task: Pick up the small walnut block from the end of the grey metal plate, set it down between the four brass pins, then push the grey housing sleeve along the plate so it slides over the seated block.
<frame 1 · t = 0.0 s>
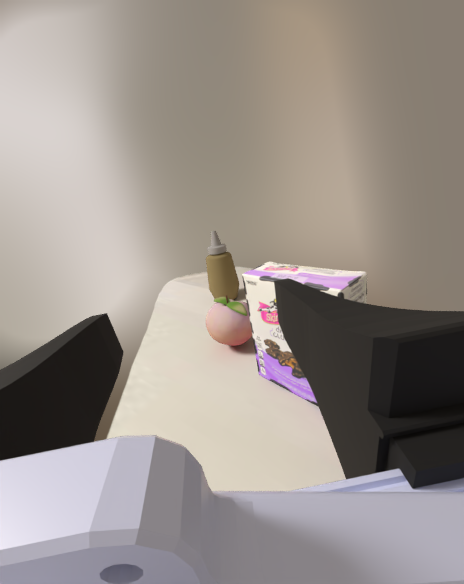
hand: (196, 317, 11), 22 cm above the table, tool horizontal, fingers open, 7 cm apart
squeeze bottle: (226, 299, 71), on the table
decorative fruit: (235, 346, 49), on the table
candy box: (307, 384, 37), on the table
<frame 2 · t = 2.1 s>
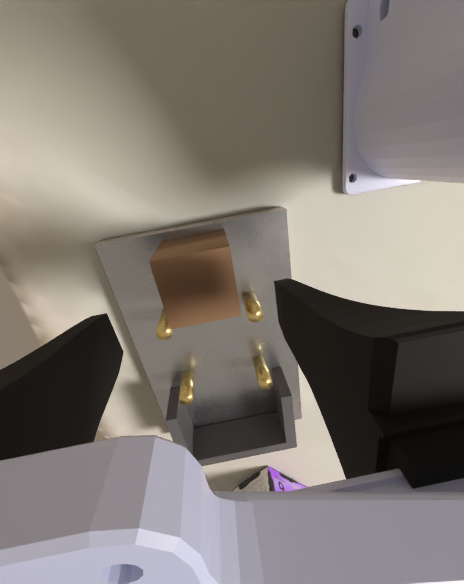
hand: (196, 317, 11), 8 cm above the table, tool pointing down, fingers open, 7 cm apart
housing: (233, 418, 22), point 3 cm above the table, slide at 0.0 cm
candy box: (288, 495, 32), on the table
base plate: (218, 340, 22), on the table
walnut block: (199, 265, 17), point 1 cm above the table, touching base plate
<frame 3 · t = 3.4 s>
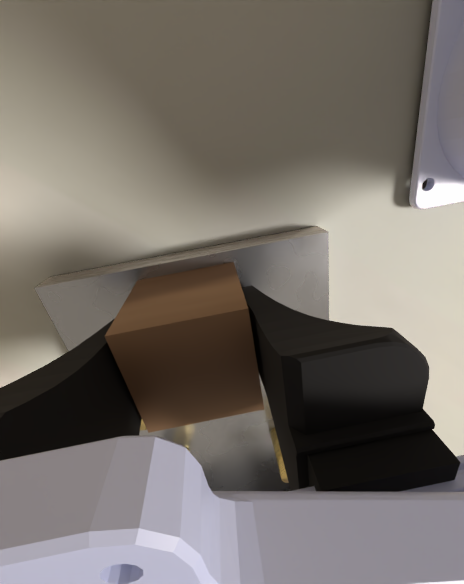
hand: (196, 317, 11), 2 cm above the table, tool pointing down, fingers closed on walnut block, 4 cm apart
base plate: (222, 403, 16), on the table
walnut block: (196, 312, 12), point 1 cm above the table, touching base plate, gripper
when the fingers open (3 cm above the table, at t = 6.0 s): walnut block stays where it is, resting on base plate.
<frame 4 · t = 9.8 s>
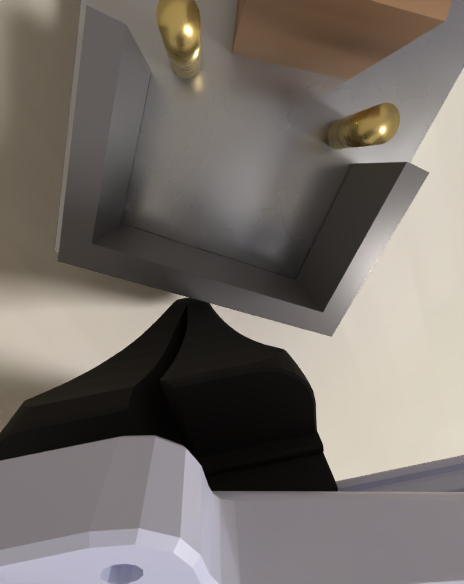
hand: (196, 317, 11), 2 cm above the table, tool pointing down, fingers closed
housing: (237, 209, 9), point 3 cm above the table, slide at 0.3 cm, touching gripper
base plate: (282, 46, 9), on the table
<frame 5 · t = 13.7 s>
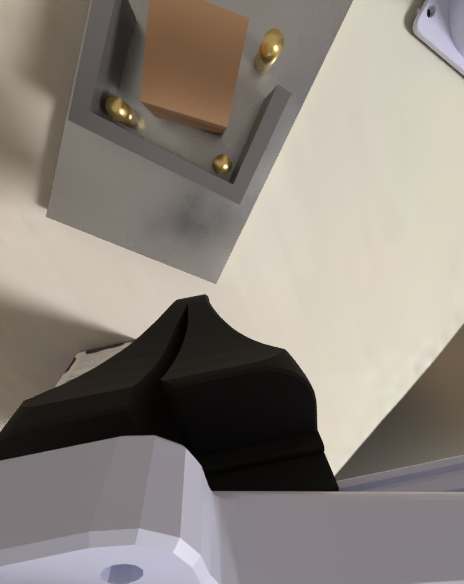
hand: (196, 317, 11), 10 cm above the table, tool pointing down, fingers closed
housing: (183, 112, 14), point 3 cm above the table, slide at 5.3 cm
candy box: (134, 399, 26), on the table
base plate: (189, 112, 17), on the table
walnut block: (195, 86, 15), point 1 cm above the table, touching base plate
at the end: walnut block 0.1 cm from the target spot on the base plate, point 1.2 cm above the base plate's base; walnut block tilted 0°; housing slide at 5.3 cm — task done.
